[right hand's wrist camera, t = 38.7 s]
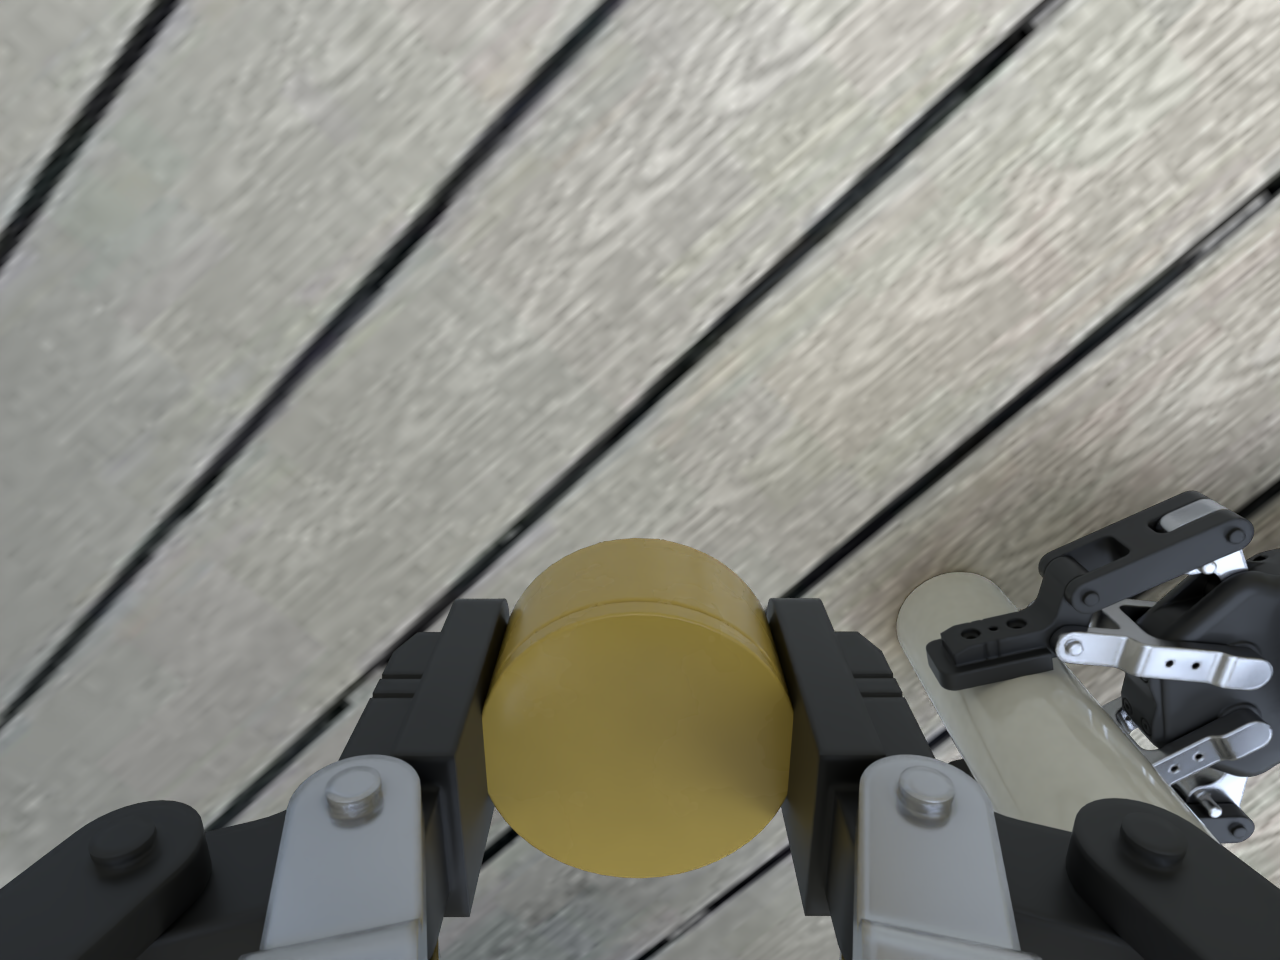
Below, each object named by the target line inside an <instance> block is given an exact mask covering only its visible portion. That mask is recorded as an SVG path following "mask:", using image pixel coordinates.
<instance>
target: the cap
mask: <svg viewBox="0 0 1280 960" xmlns="http://www.w3.org/2000/svg"><path fill="white" fill-rule="evenodd" d="M793 713H794V712H793V706H792V703H791V699H790V696H789V693H788V689H787V685H786V681H785V678H784V674H783V671H782V667H781V664H780V660H779V657H778V653H777V650H776V646H775V643H774V639H773V636H772V632H771V629H770V625H769V622H768V619H767V617H766V614H765V612H764V610H763V608H762V606H761V604H760V603H759V601H758V599H757V598H756V596H755V595H754V594H753V592H752V591H751V589H750V588H749V587H748V586H747V585H746V584H745V583H744V582H743V581H742V579H741V578H740V577H739V576H738V575H737V574H735V573H734V572H733V571H732V570H730V569H729V568H728V567H726V566H725V565H724V564H723V563H721V562H719V561H718V560H717V559H714V558H713V557H711V556H709V555H707V554H705V553H703V552H700V551H698V550H696V549H693V548H691V547H688V546H685V545H681V544H678V543H674V542H670V541H666V540H660V539H645V538H630V539H618V540H612V541H604V542H600V543H597V544H595V545H592V546H589V547H586V548H583V549H580V550H578V551H576V552H574V553H572V554H570V555H568V556H565V557H564V558H562V559H560V560H559V561H557V562H556V563H554V564H552V565H551V566H550V567H548V568H547V569H546V570H545V571H544V572H542V573H541V574H540V575H539V576H538V577H537V578H536V579H535V580H534V581H533V582H532V583H531V584H530V585H529V586H528V588H527V589H526V590H525V591H524V593H523V594H522V596H521V597H520V599H519V600H518V602H517V603H516V605H515V607H514V609H513V611H512V613H511V615H510V618H509V620H508V623H507V627H506V630H505V634H504V637H503V641H502V644H501V647H500V651H499V654H498V658H497V661H496V665H495V668H494V672H493V675H492V678H491V682H490V685H489V689H488V692H487V696H486V699H485V702H484V706H483V709H482V726H483V738H484V751H485V764H486V776H487V788H488V794H489V796H490V798H491V800H492V802H493V804H494V806H495V807H496V809H497V810H498V811H499V813H500V814H501V815H502V817H503V818H504V820H505V821H506V822H507V823H508V824H509V825H510V826H511V827H512V828H513V829H514V830H515V831H516V832H517V833H518V834H519V835H520V836H521V837H522V838H524V839H525V840H526V841H527V842H528V843H530V844H531V845H532V846H534V847H535V848H537V849H538V850H540V851H542V852H543V853H545V854H546V855H548V856H550V857H552V858H554V859H556V860H558V861H560V862H562V863H564V864H567V865H570V866H573V867H575V868H578V869H581V870H584V871H588V872H592V873H596V874H601V875H607V876H614V877H622V878H652V877H663V876H669V875H675V874H681V873H684V872H688V871H691V870H695V869H699V868H701V867H704V866H706V865H709V864H711V863H714V862H716V861H718V860H720V859H722V858H724V857H726V856H728V855H730V854H731V853H733V852H735V851H736V850H738V849H739V848H741V847H742V846H744V845H745V844H746V843H748V842H749V841H750V840H752V839H753V838H754V837H755V836H756V835H757V834H758V833H759V832H761V831H762V830H763V829H764V828H765V826H766V825H767V824H768V823H769V822H770V821H771V820H772V818H773V817H774V816H775V815H776V813H777V812H778V810H779V808H780V807H781V805H782V804H783V802H784V801H785V799H786V796H787V792H788V780H789V767H790V754H791V741H792V728H793Z"/></svg>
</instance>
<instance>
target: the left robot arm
mask: <svg viewBox="0 0 1280 960" xmlns="http://www.w3.org/2000/svg"><path fill="white" fill-rule="evenodd" d="M1253 535H1254V527H1253V525H1252V523H1251V522H1250V521H1248V520H1247V519H1245V518H1243V517H1241V516H1240V515H1238V514H1236V513H1234V512H1233V511H1231V510H1229V509H1227V508H1226V507H1224V506H1222V505H1220V504H1219V503H1217V502H1215V501H1213V500H1212V499H1210V498H1208V497H1207V496H1205V495H1203V494H1201V493H1199V492H1197V491H1186V492H1184V493H1181V494H1179V495H1177V496H1174V497H1172V498H1170V499H1168V500H1165V501H1163V502H1161V503H1159V504H1156V505H1154V506H1152V507H1150V508H1147V509H1145V510H1143V511H1141V512H1138V513H1136V514H1134V515H1132V516H1130V517H1127V518H1125V519H1123V520H1121V521H1118V522H1116V523H1114V524H1112V525H1109V526H1107V527H1105V528H1103V529H1100V530H1098V531H1096V532H1094V533H1091V534H1089V535H1087V536H1085V537H1082V538H1080V539H1078V540H1076V541H1073V542H1071V543H1069V544H1067V545H1064V546H1062V547H1060V548H1058V549H1055V550H1053V551H1051V552H1049V553H1047V554H1046V555H1044V556H1043V557H1042V559H1041V560H1040V562H1039V566H1038V569H1039V573H1040V575H1041V576H1042V577H1043V580H1042V584H1041V587H1040V591H1039V594H1038V597H1037V598H1036V600H1034V601H1033V602H1031V603H1030V604H1029V605H1028V607H1027V608H1026V609H1023V610H1021V611H1017V612H1012V613H1008V614H1003V615H999V616H994V617H990V618H985V619H983V620H976V621H972V622H971V623H969V622H967V623H963V624H958V625H954V626H952V627H950V628H948V629H947V630H945V631H943V632H942V633H940V635H941V639H937V640H933V641H931V642H929V643H928V644H927V645H926V653H927V659H928V665H929V667H930V668H931V670H932V672H933V674H934V675H935V677H936V679H937V680H938V682H939V684H940V685H941V687H943V688H944V689H947V690H951V691H958V690H963V689H968V688H972V687H977V686H982V685H986V684H991V683H995V682H1000V681H1005V680H1009V679H1014V678H1018V677H1022V676H1026V675H1033V674H1037V673H1042V672H1047V671H1051V670H1054V669H1053V660H1052V658H1055V657H1058V658H1059V659H1060V660H1061V661H1063V662H1066V663H1073V664H1084V665H1096V666H1108V667H1115V668H1119V669H1121V670H1123V671H1124V672H1125V678H1124V682H1123V687H1122V691H1121V697H1119V698H1117V699H1115V700H1113V701H1111V702H1109V703H1107V704H1105V705H1103V706H1102V707H1103V708H1104V709H1105V710H1106V712H1107V713H1108V714H1109V715H1110V716H1111V717H1112V719H1113V720H1114V721H1115V722H1116V723H1117V724H1118V725H1119V727H1120V728H1121V729H1122V730H1123V731H1124V732H1125V734H1126V735H1127V736H1128V737H1129V738H1130V739H1131V740H1132V742H1133V743H1134V744H1135V745H1136V746H1137V747H1138V749H1139V750H1140V751H1141V752H1142V753H1143V754H1144V756H1145V757H1146V758H1147V759H1148V760H1149V761H1150V762H1151V764H1152V765H1153V766H1154V767H1155V768H1156V769H1157V771H1158V772H1159V773H1160V774H1161V775H1162V776H1163V778H1164V779H1165V780H1166V781H1167V782H1168V783H1169V784H1170V786H1171V787H1172V788H1173V789H1174V790H1175V791H1176V793H1177V794H1178V795H1179V796H1180V797H1181V798H1182V799H1183V801H1184V802H1185V803H1186V804H1187V805H1188V806H1189V808H1190V809H1191V810H1192V811H1193V812H1194V813H1195V815H1196V816H1197V817H1198V818H1199V819H1200V820H1201V821H1202V823H1203V824H1204V825H1205V826H1206V827H1207V828H1208V830H1209V831H1210V832H1211V833H1212V834H1213V835H1214V836H1215V838H1216V839H1217V840H1218V841H1219V842H1220V843H1238V842H1242V841H1244V840H1246V839H1247V838H1249V837H1250V836H1251V835H1252V833H1253V831H1254V827H1255V826H1254V823H1253V821H1252V820H1251V819H1250V818H1249V817H1248V816H1247V815H1246V814H1245V813H1244V812H1243V811H1242V810H1241V808H1240V804H1241V800H1242V797H1243V793H1244V790H1245V786H1246V783H1247V779H1248V777H1252V776H1256V775H1259V774H1262V773H1264V772H1266V771H1268V770H1269V769H1271V768H1272V767H1274V766H1275V765H1277V764H1279V763H1280V548H1279V549H1274V550H1270V551H1265V552H1262V553H1259V554H1257V555H1254V556H1253V557H1251V558H1249V559H1248V560H1245V557H1244V554H1243V551H1242V549H1243V548H1244V547H1246V546H1247V545H1248V544H1249V543H1250V541H1251V540H1252V538H1253ZM1183 574H1189V576H1188V577H1186V578H1185V579H1184V580H1183V581H1182V582H1181V583H1179V584H1178V585H1177V586H1176V587H1175V588H1174V589H1172V590H1171V591H1170V592H1169V593H1168V594H1167V595H1165V596H1164V597H1163V598H1162V599H1161V600H1160V601H1158V602H1156V601H1144V600H1133V599H1127V598H1130V597H1132V596H1134V595H1137V594H1139V593H1141V592H1144V591H1146V590H1148V589H1151V588H1153V587H1155V586H1158V585H1160V584H1162V583H1165V582H1167V581H1169V580H1172V579H1174V578H1176V577H1179V576H1181V575H1183ZM1137 727H1138V728H1139V729H1140V730H1141V731H1142V733H1143V734H1144V735H1145V736H1146V737H1147V738H1148V739H1149V740H1150V741H1151V742H1152V743H1153V744H1154V745H1155V746H1156V747H1158V748H1159V749H1156V750H1145V749H1143V748H1141V747H1140V746H1139V745H1138V744H1137V743H1136V742H1135V741H1134V740H1133V739H1132V737H1131V736H1130V735H1129V734H1130V732H1131V731H1132V730H1134V729H1135V728H1137ZM948 764H950V765H952V766H954V767H956V768H958V769H960V770H962V771H963V772H965V773H966V774H968V775H969V776H970V777H972V778H973V776H972V775H971V773H970V771H969V769H968V767H967V765H966V764H965V762H964V760H963V759H961V760H956V761H952V762H950V763H948ZM973 779H974V778H973Z"/></svg>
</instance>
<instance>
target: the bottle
mask: <svg viewBox="0 0 1280 960" xmlns="http://www.w3.org/2000/svg"><path fill="white" fill-rule="evenodd" d="M1017 611H1019V610H1018V609H1017V607H1016V606H1015V605H1014V604H1013V603H1012V602H1011V601H1010V599H1009V598H1008V597H1007V596H1006V595H1005V594H1004V592H1003V591H1002V590H1001V589H1000V588H999V587H998V586H997V585H996V584H995V583H994V582H992V581H991V580H989V579H987V578H985V577H983V576H981V575H978V574H974V573H968V572H952V573H946V574H942V575H938V576H936V577H933V578H931V579H929V580H927V581H925V582H924V583H922V584H921V585H919V586H918V587H917V588H916V589H915V590H913V592H912V593H911V594H910V595H909V596H908V597H907V599H906V600H905V601H904V603H903V605H902V607H901V609H900V612H899V614H898V619H897V626H896V629H897V637H898V641H899V643H900V646H901V647H902V649H903V651H904V653H905V655H906V656H907V658H908V660H909V662H910V664H911V666H912V667H913V669H914V671H915V673H916V675H917V676H918V678H919V680H920V682H921V684H922V686H923V687H924V689H925V691H926V693H927V695H928V696H929V698H930V700H931V702H932V704H933V706H934V707H935V709H936V711H937V713H938V715H939V716H940V718H941V720H942V722H943V724H944V726H945V727H946V729H947V731H948V733H949V735H950V736H951V738H952V740H953V742H954V744H955V745H956V747H957V749H958V751H959V753H960V755H961V756H962V758H963V760H964V762H965V764H966V765H967V767H968V769H969V771H970V773H971V775H972V776H973V778H974V780H975V781H976V782H977V783H978V784H979V785H980V786H981V787H982V788H983V789H984V791H985V792H986V793H987V795H988V797H989V799H990V801H991V804H992V807H993V811H994V812H996V813H999V814H1002V815H1004V816H1007V817H1011V818H1015V819H1018V820H1022V821H1027V822H1031V823H1035V824H1040V825H1044V826H1048V827H1053V828H1057V829H1061V830H1065V831H1070V832H1072V830H1073V825H1074V821H1075V818H1076V815H1077V813H1078V812H1079V810H1080V809H1081V808H1082V807H1083V806H1085V805H1086V804H1088V803H1090V802H1092V801H1095V800H1100V799H1105V798H1123V799H1131V800H1137V801H1141V802H1145V803H1149V804H1152V805H1155V806H1158V807H1160V808H1163V809H1166V810H1168V811H1170V812H1172V813H1174V814H1176V815H1178V816H1180V817H1182V818H1184V819H1186V820H1187V821H1189V822H1191V823H1192V824H1194V825H1195V826H1196V827H1198V828H1199V829H1201V830H1202V831H1203V832H1205V833H1206V834H1207V835H1209V836H1210V837H1211V838H1213V839H1214V840H1215V841H1217V842H1218V843H1219V844H1221V843H1220V842H1219V841H1218V840H1217V839H1216V838H1215V836H1214V835H1213V834H1212V833H1211V832H1210V831H1209V830H1208V828H1207V827H1206V826H1205V825H1204V824H1203V823H1202V821H1201V820H1200V819H1199V818H1198V817H1197V816H1196V815H1195V813H1194V812H1193V811H1192V810H1191V809H1190V808H1189V806H1188V805H1187V804H1186V803H1185V802H1184V801H1183V799H1182V798H1181V797H1180V796H1179V795H1178V794H1177V793H1176V791H1175V790H1174V789H1173V788H1172V787H1171V786H1170V784H1169V783H1168V782H1167V781H1166V780H1165V779H1164V778H1163V776H1162V775H1161V774H1160V773H1159V772H1158V771H1157V769H1156V768H1155V767H1154V766H1153V765H1152V764H1151V762H1150V761H1149V760H1148V759H1147V758H1146V757H1145V756H1144V754H1143V753H1142V752H1141V751H1140V750H1139V749H1138V747H1137V746H1136V745H1135V744H1134V743H1133V742H1132V740H1131V739H1130V738H1129V737H1128V736H1127V735H1126V734H1125V732H1124V731H1123V730H1122V729H1121V728H1120V727H1119V725H1118V724H1117V723H1116V722H1115V721H1114V720H1113V719H1112V717H1111V716H1110V715H1109V714H1108V713H1107V712H1106V710H1105V709H1104V708H1103V707H1102V706H1101V705H1100V703H1099V702H1098V701H1097V700H1096V699H1095V698H1094V697H1093V695H1092V694H1091V693H1090V692H1089V691H1088V690H1087V688H1086V687H1085V686H1084V685H1083V684H1082V683H1081V682H1080V680H1079V679H1078V678H1077V677H1076V676H1075V675H1074V673H1073V672H1072V671H1071V670H1070V669H1069V668H1068V666H1067V665H1066V664H1065V663H1064V662H1063V661H1061V660H1060V659H1059V658H1058V657H1055V658H1052V660H1053V669H1054V670H1051V671H1047V672H1042V673H1037V674H1033V675H1026V676H1022V677H1018V678H1014V679H1009V680H1005V681H1000V682H995V683H991V684H986V685H982V686H977V687H972V688H968V689H963V690H958V691H951V690H947V689H944V688H943V687H941V685H940V684H939V682H938V680H937V679H936V677H935V675H934V674H933V672H932V670H931V668H930V667H929V665H928V659H927V653H926V645H927V644H928V643H929V642H931V641H933V640H937V639H941V635H940V633H942V632H943V631H945V630H947V629H948V628H950V627H952V626H954V625H958V624H963V623H967V622H969V623H971V622H972V621H976V620H983V619H985V618H990V617H994V616H999V615H1003V614H1008V613H1012V612H1017Z"/></svg>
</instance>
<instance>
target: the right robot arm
mask: <svg viewBox="0 0 1280 960" xmlns="http://www.w3.org/2000/svg"><path fill="white" fill-rule="evenodd" d="M767 619H768V622H769V625H770V629H771V632H772V636H773V639H774V643H775V646H776V650H777V653H778V657H779V660H780V664H781V667H782V671H783V674H784V678H785V681H786V685H787V689H788V693H789V696H790V699H791V703H792V706H793V712H794V713H793V728H792V741H791V754H790V767H789V780H788V792H787V796H786V799H785V801H784V802H783V804H782V805H781V808H782V813H783V817H784V822H785V826H786V831H787V836H788V840H789V845H790V849H791V854H792V858H793V863H794V867H795V872H796V877H797V881H798V886H799V890H800V895H801V899H802V904H803V908H804V913H805V916H831V918H832V922H833V926H834V930H835V934H836V938H837V942H838V945H839V948H840V959H839V960H1280V889H1279V888H1277V887H1276V886H1275V885H1273V884H1272V883H1271V882H1270V881H1268V880H1267V879H1266V878H1264V877H1263V876H1262V875H1260V874H1259V873H1258V872H1256V871H1255V870H1254V869H1252V868H1251V867H1250V866H1248V865H1247V864H1246V863H1244V862H1243V861H1242V860H1240V859H1239V858H1238V857H1237V856H1235V855H1234V854H1233V853H1231V852H1230V851H1229V850H1227V849H1226V848H1225V847H1223V846H1222V845H1221V844H1219V843H1218V842H1217V841H1215V840H1214V839H1213V838H1211V837H1210V836H1209V835H1207V834H1206V833H1205V832H1203V831H1202V830H1201V829H1199V828H1198V827H1196V826H1195V825H1194V824H1192V823H1191V822H1189V821H1187V820H1186V819H1184V818H1182V817H1180V816H1178V815H1176V814H1174V813H1172V812H1170V811H1168V810H1166V809H1163V808H1160V807H1158V806H1155V805H1152V804H1149V803H1145V802H1141V801H1137V800H1131V799H1123V798H1105V799H1100V800H1095V801H1092V802H1090V803H1088V804H1086V805H1085V806H1083V807H1082V808H1081V809H1080V810H1079V812H1078V813H1077V815H1076V818H1075V821H1074V825H1073V830H1072V832H1070V831H1065V830H1061V829H1057V828H1053V827H1048V826H1044V825H1040V824H1035V823H1031V822H1027V821H1022V820H1018V819H1015V818H1011V817H1007V816H1004V815H1002V814H999V813H996V812H994V811H993V807H992V804H991V801H990V799H989V797H988V795H987V793H986V792H985V791H984V789H983V788H982V787H981V786H980V785H979V784H978V783H977V782H976V781H975V780H974V779H973V778H972V777H970V776H969V775H968V774H966V773H965V772H963V771H962V770H960V769H958V768H956V767H954V766H952V765H950V764H948V763H945V762H943V761H940V760H937V759H935V757H934V755H933V753H932V751H931V749H930V747H929V745H928V743H927V741H926V739H925V737H924V735H923V733H922V731H921V729H920V727H919V725H918V723H917V721H916V719H915V717H914V715H913V713H912V711H911V709H910V707H909V705H908V703H907V701H906V699H905V697H902V691H901V689H900V687H899V685H898V683H897V681H896V679H895V678H893V673H892V671H891V669H890V667H889V665H888V663H887V661H886V659H885V657H884V655H883V653H882V651H881V650H880V649H878V648H877V647H876V646H875V645H873V644H872V643H871V642H870V641H868V640H867V639H866V638H865V637H864V636H862V635H861V634H860V633H859V632H834V629H833V627H832V624H831V622H830V620H829V617H828V615H827V612H826V610H825V608H824V605H823V603H822V601H821V599H819V598H770V599H769V602H768V607H767ZM508 620H509V608H508V603H507V600H506V599H456V600H455V601H454V603H453V605H452V607H451V609H450V612H449V614H448V616H447V619H446V621H445V623H444V626H443V628H442V630H441V632H418V633H416V634H415V635H414V636H413V637H411V638H410V639H409V640H408V641H406V642H405V643H404V644H403V645H401V646H400V647H399V648H398V649H397V650H395V651H394V652H393V654H392V656H391V658H390V660H389V662H388V664H387V666H386V668H385V670H384V672H383V674H382V679H380V680H379V682H378V684H377V686H376V688H375V690H374V692H373V697H372V698H370V699H369V701H368V703H367V705H366V707H365V709H364V711H363V713H362V715H361V717H360V719H359V721H358V723H357V725H356V727H355V729H354V731H353V733H352V735H351V737H350V739H349V741H348V743H347V745H346V747H345V749H344V751H343V753H342V755H341V757H340V759H339V761H337V762H335V763H332V764H330V765H328V766H326V767H324V768H322V769H320V770H318V771H317V772H315V773H314V774H312V775H311V776H310V777H308V778H307V779H306V780H305V781H304V782H303V783H302V784H301V785H300V786H299V787H298V788H297V789H296V791H295V792H294V793H293V795H292V797H291V799H290V801H289V804H288V807H287V810H285V811H282V812H280V813H277V814H275V815H272V816H270V817H266V818H263V819H259V820H256V821H252V822H247V823H243V824H239V825H234V826H230V827H226V828H221V829H217V830H213V831H208V832H204V828H203V823H202V820H201V817H200V815H199V814H198V813H197V811H196V810H195V809H193V808H192V807H191V806H188V805H186V804H184V803H180V802H176V801H166V800H159V801H148V802H142V803H137V804H133V805H130V806H126V807H123V808H120V809H118V810H115V811H112V812H110V813H108V814H106V815H103V816H101V817H99V818H97V819H96V820H94V821H92V822H90V823H89V824H87V825H85V826H84V827H82V828H81V829H80V830H78V831H77V832H75V833H74V834H73V835H71V836H70V837H69V838H67V839H66V840H65V841H63V842H62V843H61V844H59V845H58V846H57V847H55V848H54V849H53V850H51V851H50V852H49V853H47V854H46V855H45V856H43V857H42V858H41V859H40V860H38V861H37V862H36V863H34V864H33V865H32V866H30V867H29V868H28V869H26V870H25V871H24V872H22V873H21V874H20V875H18V876H17V877H16V878H14V879H13V880H12V881H10V882H9V883H8V884H6V885H5V886H4V887H3V888H1V889H0V960H441V959H440V950H439V942H438V936H439V932H440V928H441V924H442V920H443V917H470V912H471V908H472V903H473V899H474V895H475V890H476V886H477V881H478V877H479V873H480V868H481V864H482V859H483V855H484V850H485V846H486V842H487V837H488V833H489V828H490V824H491V820H492V815H493V811H494V804H493V802H492V800H491V798H490V796H489V794H488V788H487V776H486V764H485V751H484V738H483V726H482V709H483V706H484V702H485V699H486V696H487V692H488V689H489V685H490V682H491V678H492V675H493V672H494V668H495V665H496V661H497V658H498V654H499V651H500V647H501V644H502V641H503V637H504V634H505V630H506V627H507V623H508Z"/></svg>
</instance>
